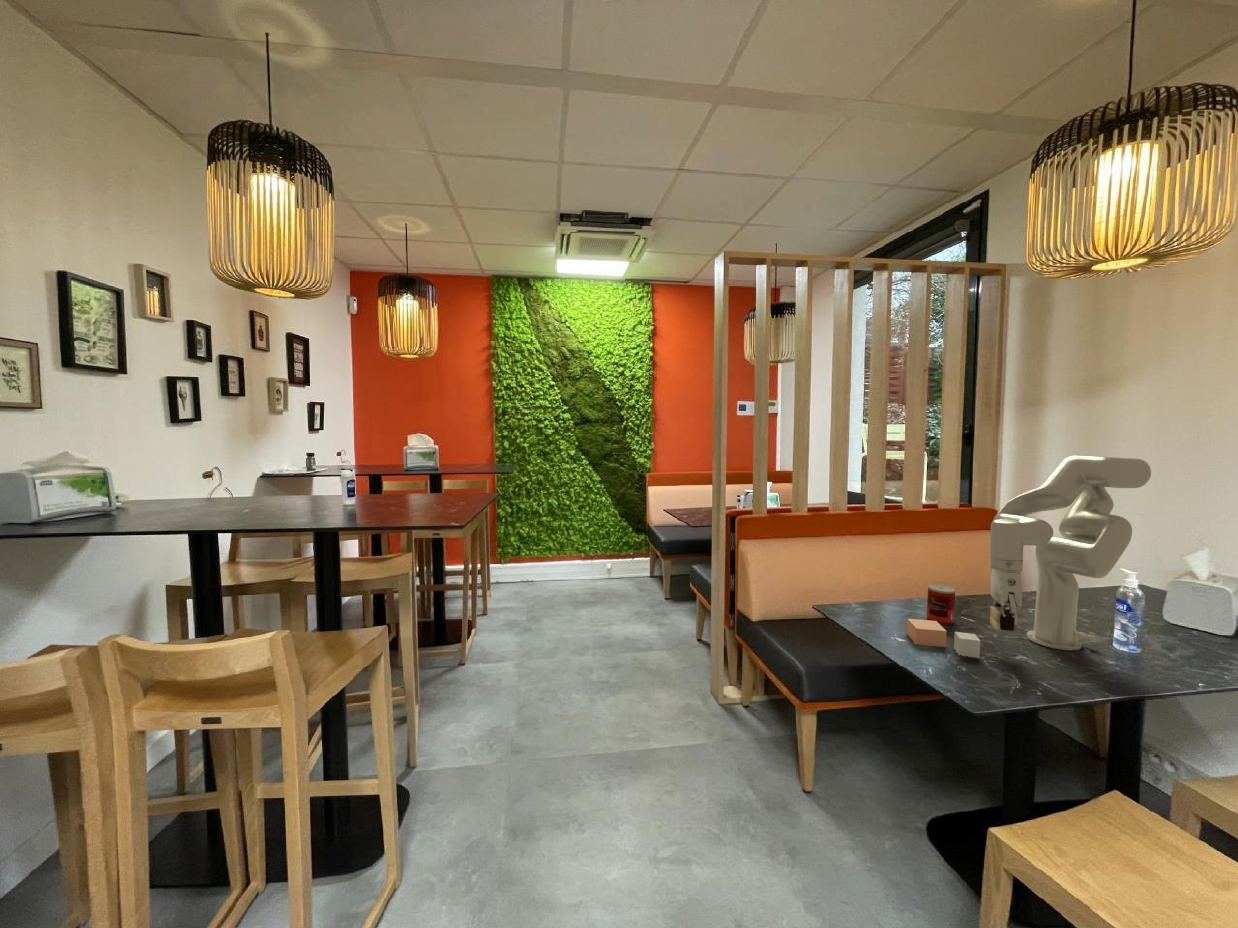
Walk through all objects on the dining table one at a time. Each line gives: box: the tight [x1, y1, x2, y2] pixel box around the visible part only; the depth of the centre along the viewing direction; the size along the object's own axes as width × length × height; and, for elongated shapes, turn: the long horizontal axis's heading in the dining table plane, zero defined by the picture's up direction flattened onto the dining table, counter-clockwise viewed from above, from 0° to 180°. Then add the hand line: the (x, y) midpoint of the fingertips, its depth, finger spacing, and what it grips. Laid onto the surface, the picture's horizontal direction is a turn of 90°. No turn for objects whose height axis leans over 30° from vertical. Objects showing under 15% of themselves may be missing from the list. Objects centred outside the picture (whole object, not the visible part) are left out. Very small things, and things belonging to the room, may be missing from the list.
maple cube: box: [989, 605, 1018, 632], centre depth 150 cm, size 5×5×5 cm
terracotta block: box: [906, 618, 948, 648], centre depth 158 cm, size 8×8×5 cm
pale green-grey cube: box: [953, 631, 981, 659], centre depth 149 cm, size 5×5×5 cm
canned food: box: [926, 583, 956, 625], centre depth 174 cm, size 8×8×11 cm
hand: (1003, 625), depth 150 cm, fingers closed on maple cube, 5 cm apart
